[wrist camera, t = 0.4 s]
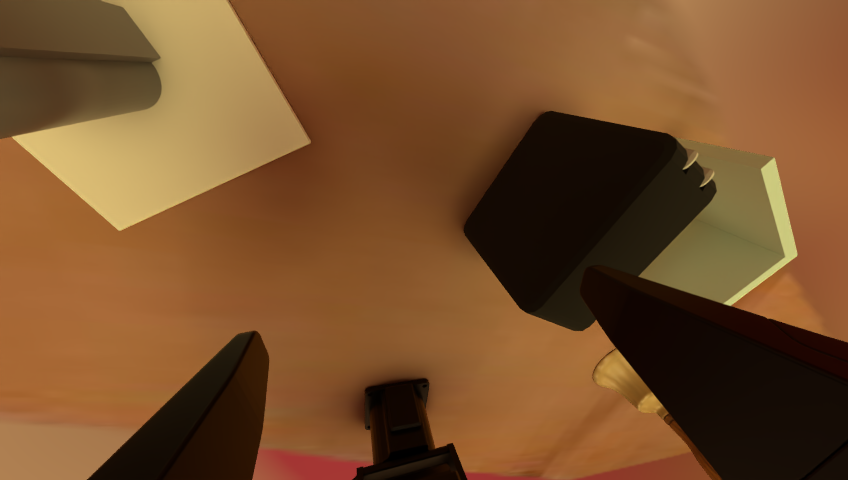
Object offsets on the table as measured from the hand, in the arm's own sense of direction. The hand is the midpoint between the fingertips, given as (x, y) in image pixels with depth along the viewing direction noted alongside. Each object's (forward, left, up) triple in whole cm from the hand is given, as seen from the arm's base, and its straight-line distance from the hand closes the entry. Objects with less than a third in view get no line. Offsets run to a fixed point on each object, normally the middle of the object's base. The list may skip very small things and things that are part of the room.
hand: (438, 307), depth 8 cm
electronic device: (-1, -10, -14) cm, 17 cm away
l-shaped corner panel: (-5, -23, -14) cm, 28 cm away
